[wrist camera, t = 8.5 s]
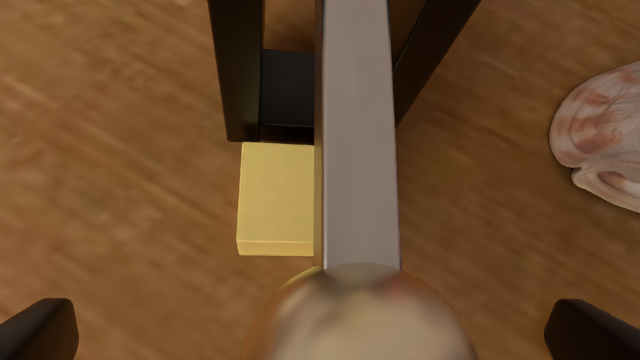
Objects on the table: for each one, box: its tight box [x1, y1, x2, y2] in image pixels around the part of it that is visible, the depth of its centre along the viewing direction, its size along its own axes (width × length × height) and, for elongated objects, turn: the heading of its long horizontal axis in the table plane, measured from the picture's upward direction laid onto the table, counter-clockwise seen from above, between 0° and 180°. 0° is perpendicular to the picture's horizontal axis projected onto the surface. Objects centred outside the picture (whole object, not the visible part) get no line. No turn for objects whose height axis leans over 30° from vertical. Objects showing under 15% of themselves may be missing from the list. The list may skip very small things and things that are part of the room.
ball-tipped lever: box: [239, 0, 479, 360], centre depth 7 cm, size 12×3×3 cm, turn 0°
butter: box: [236, 142, 314, 256], centre depth 13 cm, size 3×4×2 cm
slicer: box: [207, 0, 482, 143], centre depth 11 cm, size 4×6×10 cm
